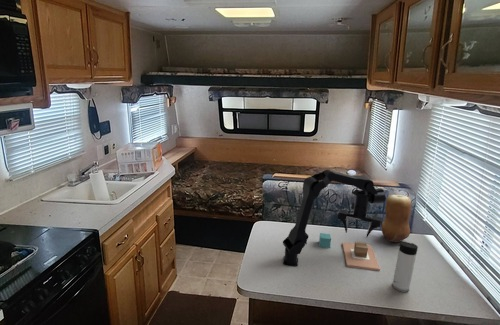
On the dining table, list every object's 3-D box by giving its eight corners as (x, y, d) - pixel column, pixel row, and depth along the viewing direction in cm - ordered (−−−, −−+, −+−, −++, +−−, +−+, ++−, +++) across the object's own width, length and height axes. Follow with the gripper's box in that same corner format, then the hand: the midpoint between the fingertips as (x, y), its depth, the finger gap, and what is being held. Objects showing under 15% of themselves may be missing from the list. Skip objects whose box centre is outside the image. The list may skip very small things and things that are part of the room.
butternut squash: (388, 231, 175) (395, 189, 168) (412, 242, 165) (421, 197, 158) (374, 238, 167) (381, 194, 160) (398, 250, 157) (407, 203, 150)
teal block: (329, 248, 156) (330, 239, 155) (319, 246, 157) (320, 237, 156) (329, 242, 161) (330, 234, 160) (319, 241, 162) (320, 233, 160)
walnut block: (366, 257, 147) (367, 248, 145) (355, 256, 148) (356, 246, 146) (364, 252, 152) (366, 242, 150) (353, 250, 152) (355, 241, 151)
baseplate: (379, 270, 139) (380, 268, 139) (346, 266, 141) (347, 264, 141) (371, 247, 158) (371, 245, 158) (342, 243, 160) (342, 241, 160)
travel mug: (391, 289, 127) (399, 245, 122) (392, 280, 133) (401, 237, 128) (408, 294, 125) (418, 249, 119) (409, 285, 130) (418, 242, 125)
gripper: (383, 201, 148) (378, 231, 152) (342, 194, 155) (338, 223, 159) (383, 210, 138) (377, 242, 142) (339, 202, 145) (335, 232, 149)
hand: (356, 234), depth 148 cm, fingers open, 9 cm apart
